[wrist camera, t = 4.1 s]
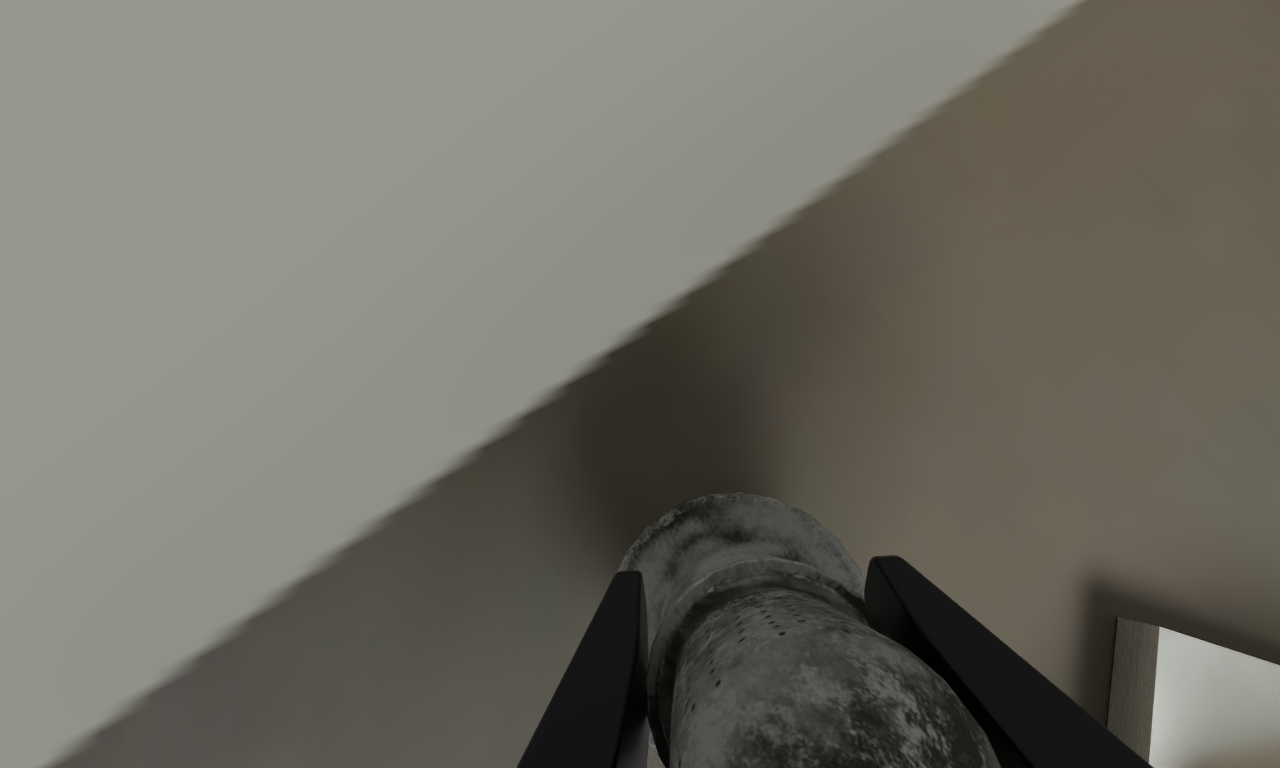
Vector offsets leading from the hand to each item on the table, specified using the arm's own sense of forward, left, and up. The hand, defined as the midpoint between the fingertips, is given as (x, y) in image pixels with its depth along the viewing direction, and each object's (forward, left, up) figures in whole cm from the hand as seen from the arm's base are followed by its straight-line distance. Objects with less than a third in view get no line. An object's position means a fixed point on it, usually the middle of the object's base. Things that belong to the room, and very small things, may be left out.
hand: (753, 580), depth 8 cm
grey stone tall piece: (-1, -1, -7) cm, 7 cm away
